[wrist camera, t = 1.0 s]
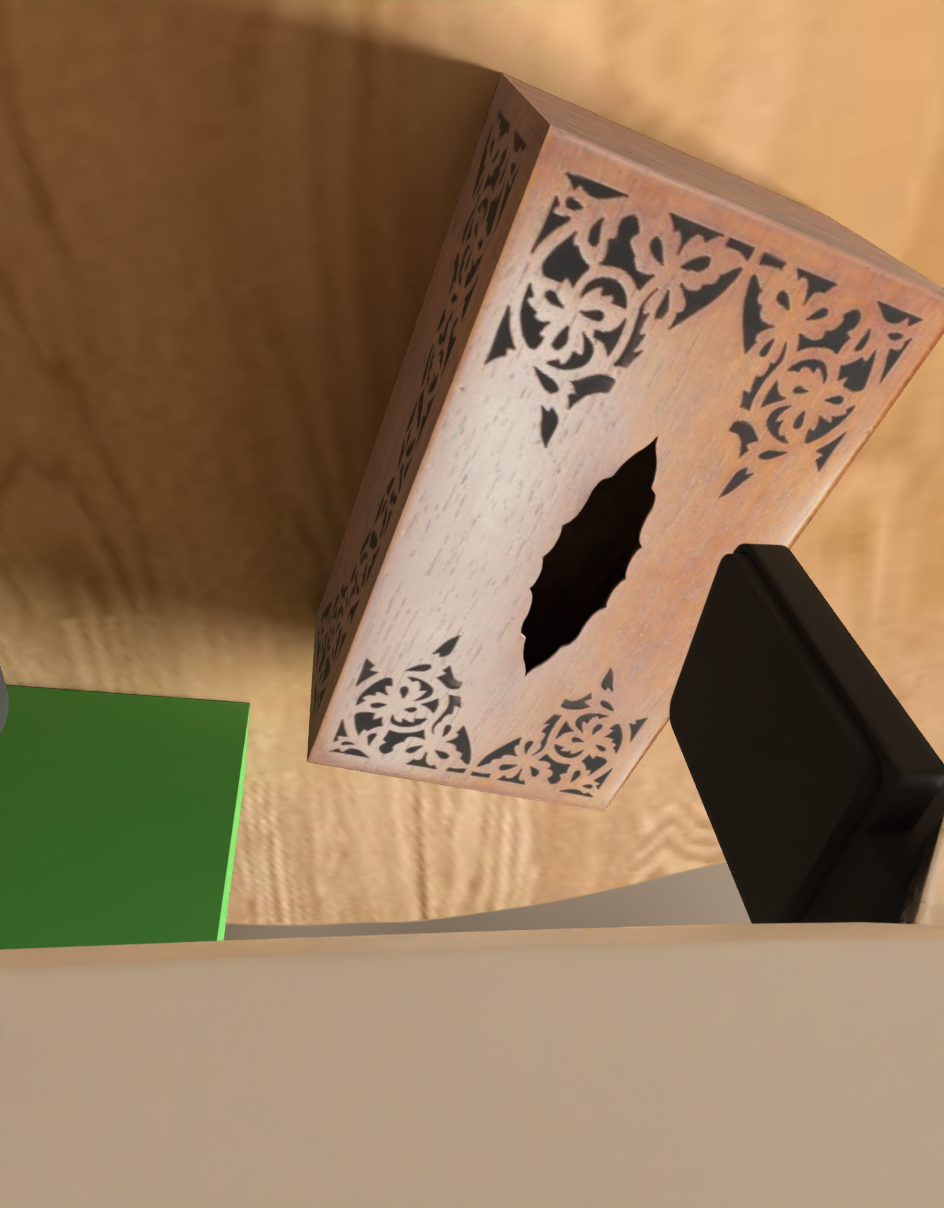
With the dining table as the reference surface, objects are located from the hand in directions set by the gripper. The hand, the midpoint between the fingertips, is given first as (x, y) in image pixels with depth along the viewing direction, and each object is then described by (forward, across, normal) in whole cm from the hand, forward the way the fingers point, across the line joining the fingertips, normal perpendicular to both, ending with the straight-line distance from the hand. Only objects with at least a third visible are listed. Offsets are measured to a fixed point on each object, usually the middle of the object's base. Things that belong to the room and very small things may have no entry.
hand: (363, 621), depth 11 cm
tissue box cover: (+27, -9, +10) cm, 30 cm away
